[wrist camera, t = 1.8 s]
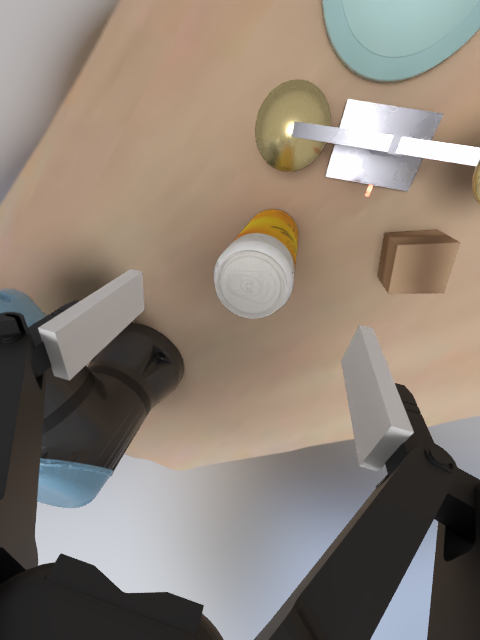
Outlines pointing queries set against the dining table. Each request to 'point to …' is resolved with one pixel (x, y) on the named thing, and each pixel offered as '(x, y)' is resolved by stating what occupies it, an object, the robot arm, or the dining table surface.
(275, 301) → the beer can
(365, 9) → the dish
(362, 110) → the balance
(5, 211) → the dining table surface
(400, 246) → the walnut block
